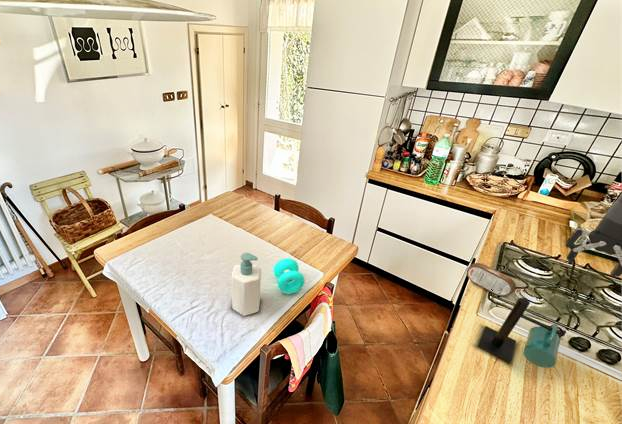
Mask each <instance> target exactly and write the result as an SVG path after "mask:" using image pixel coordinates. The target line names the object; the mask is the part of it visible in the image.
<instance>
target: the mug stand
mask: <svg viewBox="0 0 622 424" xmlns="http://www.w3.org/2000/svg"><path fill="white" fill-rule="evenodd" d="M530 304H531V302H530V301H529V300H528V299H526V298H524V297H519V298H518V300H517V301H516V303H515V304H514V305H513V307H512V309H511V311H510V312H509V313H508V315H507V317H506V318H505V320H504V322H503V323H502V325H501V326H500V328H499V329H498V331H497V330H495V329H493V328H492V327H489V326H487V325H485V326H484V327H483V330H482V333H481V335H480V338H479V340H478V343H477V346H476V347H477V348H479V349H480V350H483V351H484V352H486V353H487V354H490V355H491V356H493V357H495V358H497V359H499V360H501V361H503V362H504V363H506V364H508V365H509V364H510V363H511V361H512V357H513V353H514V350H515V346H516V344H517V343H516V342H517V340H515V339H514V338H511V337H510V334H511V333H512V331H513V330H514V328H515V327H516V325H517V323H518V322H519V321H520V319H521V318H522V319H524V320H526V321H527V322H530V323H533V324H534V325H537V326H538V327H543V328H545V329H548V330H550V331H552V327H551V326H550V325H548V324H545V323H543V322H540V321H538V320H536V319H534V318H532V317H530V316H527V315H525V314H524V313H525V311H526V310H527V308H528V307H529V306H530ZM556 334H557V335H558V336H560V337H565V335H566V334H567V331H566V330H565V329H563V330H559V329H557V332H556Z"/></svg>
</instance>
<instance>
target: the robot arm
mask: <svg viewBox="0 0 622 424" xmlns="http://www.w3.org/2000/svg"><path fill="white" fill-rule="evenodd" d="M584 237H588V239H587V240H584V241H582V242H580V243H576V242H577V240H578V239H579V238H584ZM575 243H576V244H575ZM565 247H566V248H569V249H570V251H569V252H568V254H567V255H566V261H567V260H568V261H567V263H571V264H572V263H573V262H574V260H575V259H576V257H577V256H578V255H579V252H582V251H589V250H592V249H594V250H595V251H597V252H601V253H605V254H606V255H609V256H612V255H613V256H615V255H616V257H617V259H618V262H617V264H616V265H615V266H614V267H613V269H612V270H611V271H610V273H609V276H610V277H612V278H616V277H620V276H621V275H622V193H620V195H619V197H618V198H617V199H616V200H615V201H614V202H613V203H612V204H611V206H610V207H609V208H608V209H607V210H606V212H605V214H604V215H603V217H602V218H601V220H600V222H598V224H597V225H596V227H595V228H594V229H593V230H591V231H589V230H586V229H583V227H582V226H577V227H576V228H575V229H574V231H573V232H571V234H570V235H569V237H568V238H567V240H566V241H565Z"/></svg>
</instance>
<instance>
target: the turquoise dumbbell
mask: <svg viewBox="0 0 622 424" xmlns="http://www.w3.org/2000/svg"><path fill="white" fill-rule="evenodd" d="M287 270H288V271H287ZM299 270H300V266H299V263H298V262H297V261H296V260H295V259H293V258H289V257H288V258H287V257H286V258H282V259H280V260H278V261H277V262H276V263H275V264H274V266H273V269H272V273H273V276H274V277H275V278H276V279H277V287H278V289H279V291H280V292H282V293H284V294H288V295H289V294H294V293H295V294H296V293H297V292H299V291H300V290H301V289H302V288H303V287H304V286H305V280H306V279H305V277H304V276H305V275H303V274H302V273H301V272H300V271H299Z"/></svg>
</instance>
